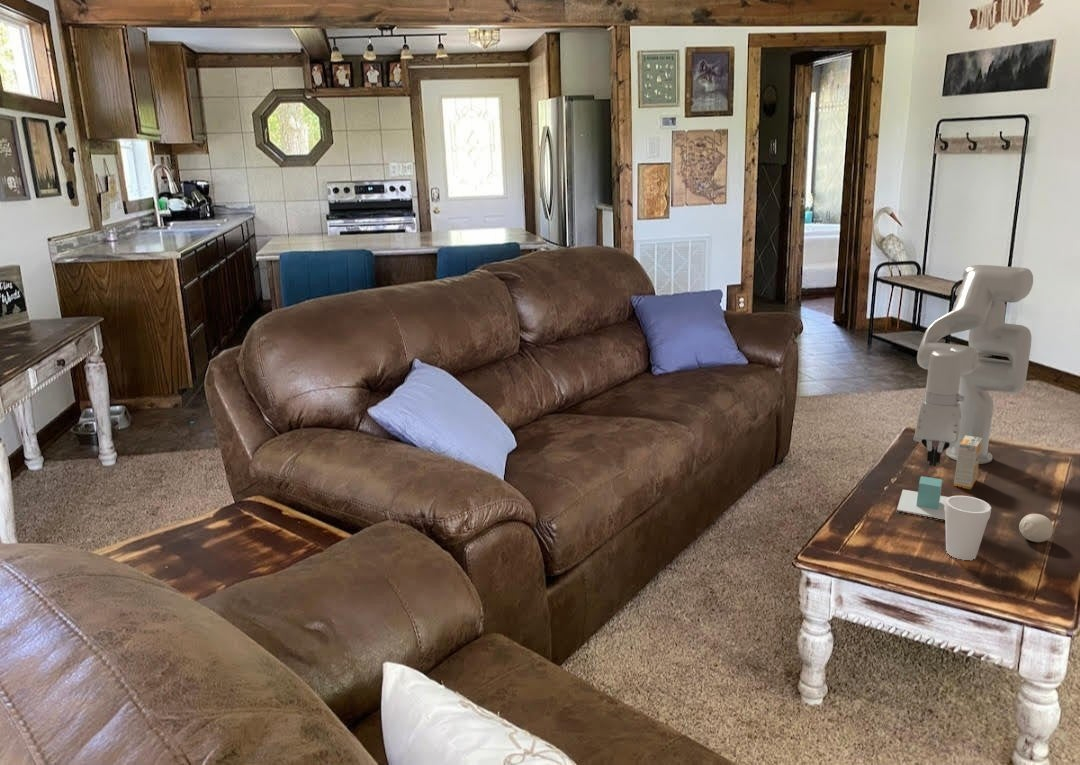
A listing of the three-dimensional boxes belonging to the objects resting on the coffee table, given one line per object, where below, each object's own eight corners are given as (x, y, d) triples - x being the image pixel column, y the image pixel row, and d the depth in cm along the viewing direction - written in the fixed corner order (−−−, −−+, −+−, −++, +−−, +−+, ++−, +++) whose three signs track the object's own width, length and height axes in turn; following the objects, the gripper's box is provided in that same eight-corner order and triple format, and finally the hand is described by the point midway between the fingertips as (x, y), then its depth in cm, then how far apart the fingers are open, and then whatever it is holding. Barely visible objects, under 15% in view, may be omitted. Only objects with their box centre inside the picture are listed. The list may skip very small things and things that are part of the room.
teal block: (918, 498, 214) (921, 476, 213) (939, 502, 212) (942, 479, 210) (916, 505, 210) (919, 483, 208) (938, 509, 208) (940, 486, 206)
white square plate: (902, 492, 220) (904, 470, 219) (958, 501, 214) (961, 479, 212) (896, 512, 209) (899, 489, 207) (955, 522, 202) (958, 499, 200)
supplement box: (972, 490, 220) (978, 446, 217) (953, 486, 223) (958, 443, 219) (977, 480, 227) (983, 437, 223) (958, 476, 229) (964, 434, 226)
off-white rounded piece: (1010, 537, 194) (1013, 512, 192) (1031, 531, 197) (1035, 507, 195) (1035, 549, 188) (1039, 524, 186) (1057, 543, 190) (1061, 518, 189)
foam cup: (944, 540, 193) (951, 492, 190) (987, 551, 188) (994, 501, 184) (934, 556, 186) (941, 506, 183) (978, 568, 181) (986, 516, 177)
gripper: (974, 397, 202) (965, 464, 207) (910, 390, 209) (903, 455, 214) (973, 406, 196) (964, 474, 201) (907, 398, 203) (900, 464, 208)
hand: (932, 464), depth 208 cm, fingers closed
